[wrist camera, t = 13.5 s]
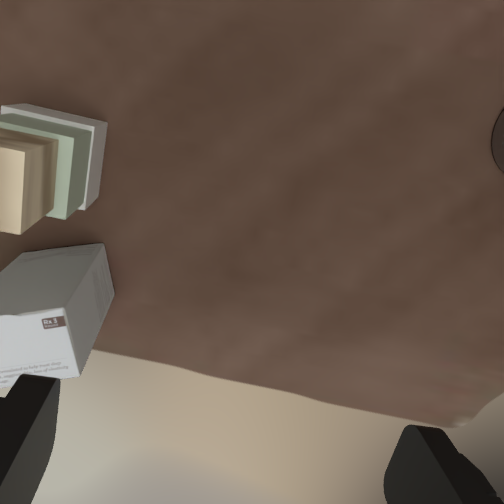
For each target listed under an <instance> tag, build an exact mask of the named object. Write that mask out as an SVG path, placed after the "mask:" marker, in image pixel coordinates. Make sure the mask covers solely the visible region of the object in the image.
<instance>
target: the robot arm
mask: <svg viewBox="0 0 504 504" xmlns="http://www.w3.org/2000/svg"><path fill="white" fill-rule="evenodd" d="M492 150H493V156H494V158H495V161H496V163H497V165H498V166H499V168H500V169H501V170H502V171H503V172H504V110H503V111H502V113H501V114H500V116H499V118H498V120H497V122H496V125H495V128H494V132H493V137H492ZM59 394H60V379H59V378H54V377H46V376H39V375H31V374H21V375H20V376H19V377H18V379H17V380H16V382H15V383H14V385H13V386H12V388H11V390H10V391H9V393H8V394H7V396H6V397H5V398H3V397H0V504H31V502H32V500H33V498H34V495H35V493H36V491H37V488H38V486H39V484H40V481H41V479H42V477H43V474H44V472H45V470H46V467H47V465H48V462H49V459H50V456H51V452H52V449H53V444H54V440H55V433H56V423H57V413H58V404H59ZM384 494H385V498H386V501H387V504H504V503H503V502H502V500H501V499H500V498H499V497H497V496H496V492H495V490H494V489H493V487H492V486H491V485H490V483H489V482H488V480H487V479H486V477H485V476H484V475H483V473H482V472H481V471H480V470H479V469H478V468H477V467H475V465H473V464H472V463H471V462H470V461H469V460H468V459H467V458H466V457H465V456H464V455H463V454H460V453H459V452H458V451H457V449H456V448H455V446H454V445H453V443H452V442H451V441H450V439H449V438H448V436H447V435H446V433H445V432H444V431H443V430H441V429H439V428H433V427H425V426H417V425H408V426H406V427H405V428H404V430H403V432H402V434H401V436H400V439H399V441H398V443H397V446H396V448H395V451H394V453H393V455H392V458H391V460H390V462H389V465H388V467H387V469H386V472H385V476H384Z"/></svg>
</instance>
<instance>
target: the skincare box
mask: <svg viewBox="0 0 504 504" xmlns="http://www.w3.org/2000/svg"><path fill="white" fill-rule="evenodd" d="M114 295H115V293H114V288H113V284H112V279H111V274H110V270H109V265H108V260H107V255H106V250H105V245H104V243H97V244H88V245H80V246H71V247H62V248H54V249H47V250H41V251H34V252H23V253H21V254H20V255H19V256H18V257H17V258H16V259H15V260H14V261H12V262H11V263H10V264H9V265H8V266H7V267H6V268H4V269H3V270H2V271H1V272H0V388H6V387H12V386H13V385H14V383H15V382H16V380H17V379H18V377H19V376H20V375H21V374H31V375H39V376H46V377H54V378H59V379H66V378H74V377H79V376H80V375H81V372H82V371H83V368H84V366H85V364H86V361H87V359H88V356H89V354H90V352H91V350H92V347H93V345H94V342H95V340H96V338H97V335H98V333H99V331H100V328H101V326H102V323H103V321H104V319H105V317H106V314H107V312H108V309H109V307H110V305H111V302H112V300H113V298H114Z"/></svg>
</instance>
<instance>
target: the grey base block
mask: <svg viewBox="0 0 504 504" xmlns="http://www.w3.org/2000/svg"><path fill="white" fill-rule="evenodd" d="M8 113H15V114H20V115H24V116H28V117H33V118H37V119H41V120H46V121H50V122H55V123H59V124H63V125H68V126H72V127H76V128H81V129H85V130H90V131H92V137H91V146H90V154H89V163H88V171H87V180H86V188H85V197H84V203H83V204H82V205H81V206H80V207H79V208H78V209H80V210H86V209H87V208H88V207H89V206H90V205H91V204H92V203H93V202H94V201H95V200H96V199H97V198H98V196H99V188H100V180H101V172H102V164H103V156H104V148H105V140H106V132H107V124H108V122H104V121H100V120H96V119H91V118H87V117H83V116H78V115H74V114H70V113H65V112H61V111H57V110H52V109H48V108H44V107H39V106H35V105H31V104H26V103H24V104H13V105H2V106H1V114H8Z"/></svg>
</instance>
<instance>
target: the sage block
mask: <svg viewBox="0 0 504 504" xmlns="http://www.w3.org/2000/svg"><path fill="white" fill-rule="evenodd" d="M0 128H5V129H10V130H14V131H19V132H24V133H29V134H34V135H38V136H43V137H48V138H53V139H57V140H59V145H58V158H57V170H56V183H55V196H54V209H52V210H51V211H50V212H49V213H47V214H46V215H45V216H49V217H54V218H59V219H64V220H66V219H67V218H68V217H69V216H70V215H71V214H72V213H73V212H75V211H76V210H77V209H78V208H79V207H80V206H81V205H82V204H83V203H84V197H85V188H86V180H87V171H88V163H89V154H90V146H91V137H92V131H90V130H85V129H81V128H76V127H72V126H68V125H63V124H59V123H55V122H50V121H46V120H41V119H37V118H33V117H28V116H24V115H20V114H15V113H8V114H1V115H0Z"/></svg>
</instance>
